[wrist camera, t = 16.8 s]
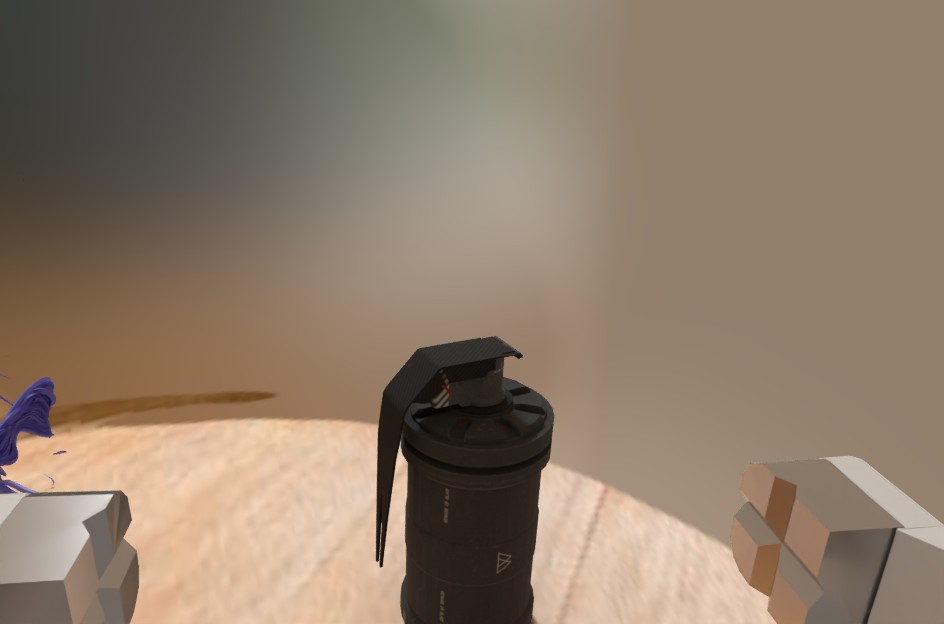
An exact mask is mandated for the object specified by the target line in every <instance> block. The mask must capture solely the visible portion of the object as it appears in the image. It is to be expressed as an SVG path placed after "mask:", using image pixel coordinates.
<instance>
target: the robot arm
mask: <svg viewBox="0 0 944 624" xmlns="http://www.w3.org/2000/svg"><path fill="white" fill-rule="evenodd" d="M740 490H741V492H742V494H743V496H744V497H745V499H746V501H747V502H746V503H745V504H744V506H743V507H742V508H741V509H740V510H739V511H738V512H737V513H736V514H735V515H734V518H733V524H732V531H731V544H732V551H733V557H734V559H735V562H736V564H737V567H738V569H739V571H740V573H741V574H742V576H743V577H744V578H745V580H746V581H747V583H748V584H749V585H750V586H751V587H753V588H755V589H757V590H758V591H760V592H762V593H763V594H765V595H767V596H768V597H769V601H768V612H769V613H770V614H771V616H772V617H773V619H774V620H775V621H776V623H777V624H944V525H943V524H941V522H939V521H938V520H937V519H936V518H934V517H933V516H932V515H931V514H929V513H928V512H927V511H926V510H924V509H923V508H922V507H921V506H919V505H918V504H917V503H915V502H914V501H913V500H912V499H911V498H909V497H908V496H907V495H906V494H904V493H903V492H902V491H901V490H899V489H898V488H897V487H895V486H894V485H893V484H892V483H891V482H889V481H888V480H887V479H886V478H884V477H883V476H882V475H881V474H879V473H878V472H877V471H876V470H875V469H873V468H872V467H871V466H869V465H868V464H867V463H866V462H864V461H863V460H862V459H859V458H856V457H852V456H841V457H828V458H817V459H812V460H795V461H779V462H763V463H750V464H749V466H748V467H747V469H746V470H745V472H744V473H743V477H742V481H741V486H740ZM131 521H132V518H131V513H130V508H129V503H128V498H127V496H126V495H125V494H124V493H123V492H122V491H121V490H120V491H81V492H41V493H32V494H30V493H11V494H0V624H129V623H130V621H131V618H132V616H133V613H134V609H135V604H136V599H137V593H138V588H139V565H138V558H137V550H135V549H134V548H133V547H132V546H131V545H130V544H129V543H128V542H127V541H126V540H125V539H123V537H124V535H125V533H126V531H127V529H128V527H129V525H130V523H131Z"/></svg>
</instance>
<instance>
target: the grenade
mask: <svg viewBox="0 0 944 624" xmlns="http://www.w3.org/2000/svg"><path fill="white" fill-rule="evenodd" d="M509 356H515V357H517V358H518V359H520V358H521V357H523V355H522V354H521V353H520V352H518V351H517V350H516V349H514V348H513V347H511V346H510V345H508V344H507V343H505V342H504V341H503V340H501V339H500V338H498V337H497V336H495V337H488V338H482V339H481V338H477V339H471V340H465V341H460V342H453V343H448V344H442V345H436V346H430V347H425V348H419V349H418V350H417V351H416V352H415V353H414V354H413V355H412V357H411V358H410V359H409V360H408V361H407V362H406V364H405V365H404V366H403V367H402V368H401V370H400V371H399V372H398V373H397V374H396V376H395V377H394V378H393V379H392V381H390V383H389V384H388V386H387V387H386V388H385V390H384V392H383V398H382V405H381V412H380V420H379V428H378V458H377V516H376V561H377V562H378V561H379V552H380V568H381V567H383V558H384V549H385V541H386V532H387V523H388V516H389V508H390V501H391V494H392V487H393V480H394V472H395V465H396V458H397V453H398V449H399V445H400V440H401V449H402V454H403V456H404V457H405V459H406V461H407V462H408V486H407V500H406V520H405V542H406V576H405V578H404V581H403V583H402V587H401V613H402V617H403V620H404V622H405V624H530V622H531V619H532V611H533V602H534V596H533V589H532V586H531V584H530V582H531V571H532V561H533V554H534V551H535V544H536V534H537V524H538V514H539V509H538V499H539V489H540V479H541V470H542V469H543V468H544V467H545V466H546V464H547V463H548V461H549V458H550V452H551V442H552V432H553V422H554V413H553V409H552V407H551V405H550V404H549V402H548V401H547V400H546V399H545V398H544V397H543V396H542V395H540V394H539V393H537V392H536V391H534V390H532V389H530V388H528V387H526V386H524V385H523V384H521V383H519V382H517V381H515V380H512V379H508V378H505V377H503V366H504V357H509ZM381 523H382V532H381ZM380 535H381V549H380Z"/></svg>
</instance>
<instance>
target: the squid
mask: <svg viewBox="0 0 944 624" xmlns="http://www.w3.org/2000/svg"><path fill="white" fill-rule="evenodd" d="M2 376H3V375H2ZM4 377H6V376H4ZM7 378H8V377H7ZM53 389H54V384H53V382H51V379H50V378H49V377H45V378H42V379H39V380H37V381H36V382H34V383H33V384H32V385H30V386H29V387H28V388H27V389H26V390H25V391H24V392H23V393H22V394H21V396H20V397H19V398H18V399H17V401H16V402H15V403H14V405H13V404H12V403H10V402H9V401H8V400H5V399H4V398H3V397H1V396H0V398H1V399H3V400H4V401H6V402H8V403H10V404H11V405H12V408H11V409H10V411H9V412H8V414H7V415H6V417H5V418H4V420H3V421H2V422H1V424H0V466H4V465H11V464H13V463H15V462H16V461H17V459H18V450H17V447H16V441H17V436H18V433H19V432H21V431H22V432H27V433H31V434H35V435H38V436H41V437H49V438H50V437H51V436H53V435H54V434H52V432H51V428H50V423H49V421H48V417H49V411H50V409H51V406H52V405H53V404H55V402H56V396H55V395H54V394H53ZM65 452H66V451H60V452H57V453H55V454H61V453H65ZM55 454H53V455H55ZM0 474H1V475H4V476H6V473H5V472H4V470H3V469H2V468H1V467H0ZM46 476H47V475H46ZM6 477H7V476H6ZM49 478H50V477H49ZM50 479H52V478H50ZM52 481H53V479H52ZM53 483H54V481H53ZM6 485H8V486H10V487H13V488H15V489H17V490H19V491H21V492H23V493H30V494H32V493H39V492H36V491H33V490H30V489H28V488H26V487H24V486H22V485H20V484H18V483H15V482H13V481H10V480H2V479H1V476H0V494H11V493H17V492H15V491H13V490H11V489H10V488H9V487H7V486H6Z"/></svg>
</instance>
